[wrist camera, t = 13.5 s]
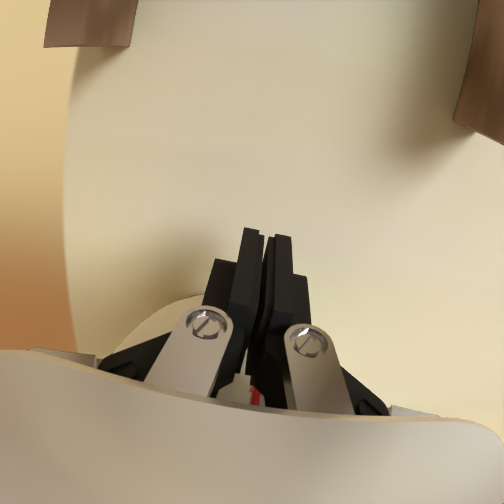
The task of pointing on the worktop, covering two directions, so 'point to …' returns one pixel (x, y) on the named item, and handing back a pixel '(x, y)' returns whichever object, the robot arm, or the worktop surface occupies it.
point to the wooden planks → (470, 100)
